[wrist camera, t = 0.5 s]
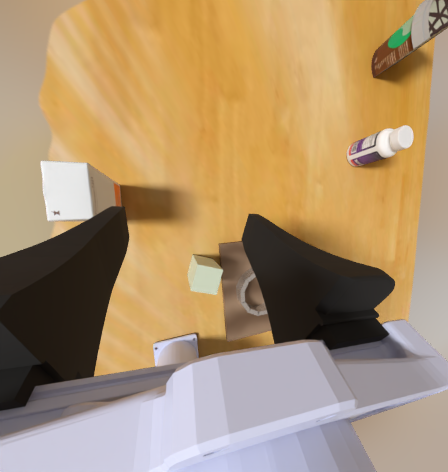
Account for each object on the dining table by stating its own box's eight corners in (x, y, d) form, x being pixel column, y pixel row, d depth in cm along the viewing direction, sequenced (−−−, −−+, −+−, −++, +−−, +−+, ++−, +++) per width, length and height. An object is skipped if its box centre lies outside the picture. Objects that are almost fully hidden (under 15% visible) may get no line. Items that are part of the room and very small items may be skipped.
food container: (395, 31, 42) (461, -25, 32) (403, 58, 43) (469, 12, 34) (359, 52, 40) (418, -1, 30) (369, 80, 41) (428, 38, 32)
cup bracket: (285, 323, 41) (295, 332, 38) (226, 338, 38) (231, 350, 34) (281, 236, 39) (292, 238, 36) (218, 243, 35) (223, 246, 32)
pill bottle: (366, 161, 43) (419, 145, 34) (349, 170, 42) (400, 157, 33) (359, 139, 42) (412, 116, 33) (342, 148, 41) (392, 127, 32)
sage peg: (212, 258, 35) (223, 269, 28) (207, 278, 35) (216, 294, 28) (192, 254, 34) (197, 264, 27) (187, 274, 34) (190, 290, 27)
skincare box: (124, 220, 31) (94, 221, 19) (95, 221, 30) (45, 222, 18) (121, 183, 30) (88, 161, 19) (91, 183, 29) (36, 159, 17)
